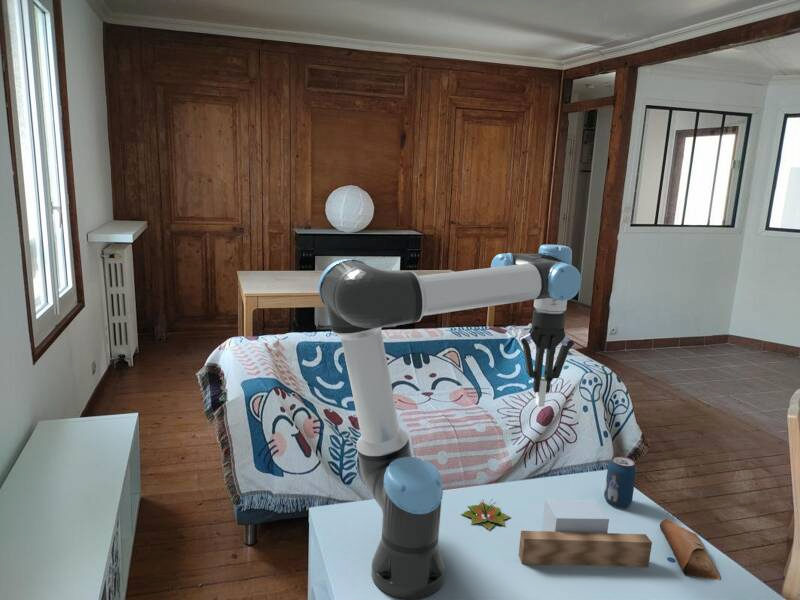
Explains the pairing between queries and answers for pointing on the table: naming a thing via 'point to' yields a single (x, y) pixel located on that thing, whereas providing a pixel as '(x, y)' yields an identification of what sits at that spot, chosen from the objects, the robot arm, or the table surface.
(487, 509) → the lily flower
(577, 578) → the table surface
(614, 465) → the soda can
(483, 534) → the table surface
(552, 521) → the white block
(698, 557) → the sunglasses case
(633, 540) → the walnut board
